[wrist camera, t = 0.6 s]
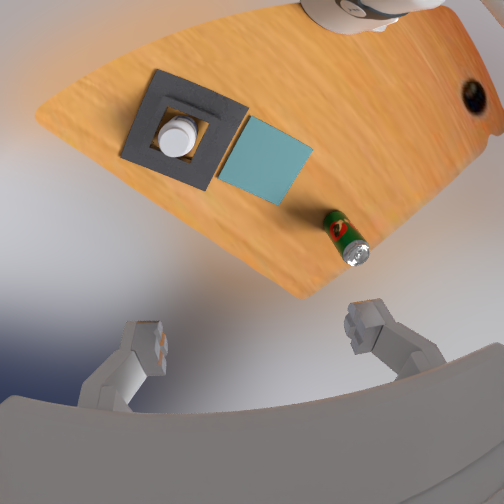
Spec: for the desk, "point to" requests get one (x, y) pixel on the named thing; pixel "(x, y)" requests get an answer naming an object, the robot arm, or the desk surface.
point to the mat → (265, 161)
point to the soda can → (346, 238)
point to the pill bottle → (178, 136)
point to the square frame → (195, 104)
